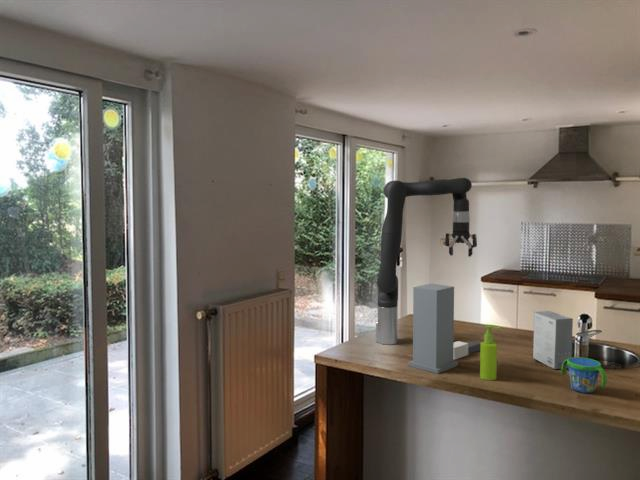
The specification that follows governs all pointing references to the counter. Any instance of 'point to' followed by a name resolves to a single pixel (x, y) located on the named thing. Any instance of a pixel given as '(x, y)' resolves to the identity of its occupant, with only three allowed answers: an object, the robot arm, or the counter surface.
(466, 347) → the block
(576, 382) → the snack cup
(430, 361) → the grey rectangular pillar
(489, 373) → the soap dispenser
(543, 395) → the counter surface
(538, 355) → the hard drive box
